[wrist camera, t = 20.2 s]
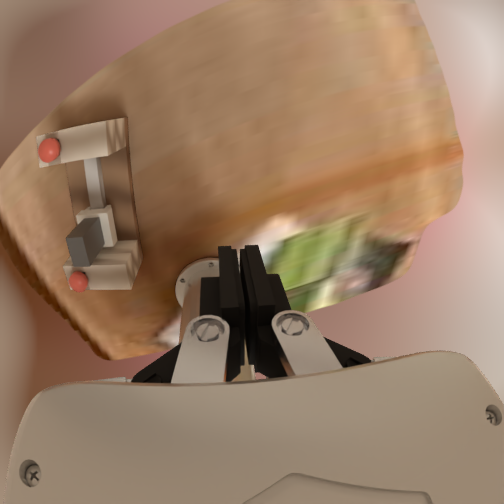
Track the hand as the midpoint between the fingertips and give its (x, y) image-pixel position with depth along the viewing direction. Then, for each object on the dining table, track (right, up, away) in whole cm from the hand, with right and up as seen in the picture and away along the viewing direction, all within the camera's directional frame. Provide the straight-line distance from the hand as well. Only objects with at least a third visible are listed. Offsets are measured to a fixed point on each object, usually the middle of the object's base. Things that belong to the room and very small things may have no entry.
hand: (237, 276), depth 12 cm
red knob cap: (-23, -2, +23) cm, 33 cm away
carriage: (-21, +5, +25) cm, 33 cm away
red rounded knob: (-23, +14, +15) cm, 31 cm away
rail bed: (-21, +9, +25) cm, 35 cm away
